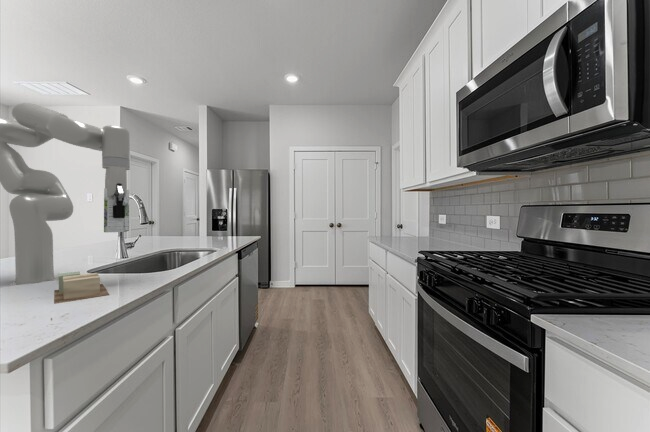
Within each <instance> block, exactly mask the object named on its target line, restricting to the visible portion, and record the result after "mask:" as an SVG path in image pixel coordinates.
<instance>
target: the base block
mask: <svg viewBox="0 0 650 432" xmlns="http://www.w3.org/2000/svg"><path fill="white" fill-rule="evenodd" d="M100 284H101V277H100V275H99V274H98V272H93V273H84V274H80V275H73V276H65V277H63V296H64V300H65V299H71V298H78V297H84V296H91V295H98V294H100Z"/></svg>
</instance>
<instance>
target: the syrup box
mask: <svg viewBox="0 0 650 432" xmlns="http://www.w3.org/2000/svg"><path fill="white" fill-rule="evenodd" d="M116 190H117V188H116ZM103 193H104V194H103V233H125V232H126V233H127V232H128V231H130V190H129V189H127V192H126V197H125V198H124V203H125V205H124V206H125V218H113V206H114V201H113V196H111V198H108V197H107V188H105V187H104V190H103ZM123 194H124V193H123Z"/></svg>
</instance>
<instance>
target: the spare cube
mask: <svg viewBox="0 0 650 432" xmlns="http://www.w3.org/2000/svg"><path fill="white" fill-rule="evenodd" d="M57 274H58V275H57V276H58V277H57V278H58V280H57V281H58V290H59V293H63V277H65V276H73V275H81V273H80V271H70V272H61V273H57Z"/></svg>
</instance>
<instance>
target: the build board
mask: <svg viewBox="0 0 650 432" xmlns="http://www.w3.org/2000/svg"><path fill="white" fill-rule="evenodd" d="M53 293H54V294H53V305H54V304H55V305H56V304H61V303H68V302H75V301H79V300H80V301H82V300H87V299H93V298H99V297H101V298H102V297H106V296H107V297H108V296H110V293H109V291H108V290H107V289H106V287H105V285H104V284H103V283H100V294H98V295H91V296H84V297H78V298H71V299H65V300H64V296H63V293H59V289H54V291H53Z"/></svg>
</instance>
